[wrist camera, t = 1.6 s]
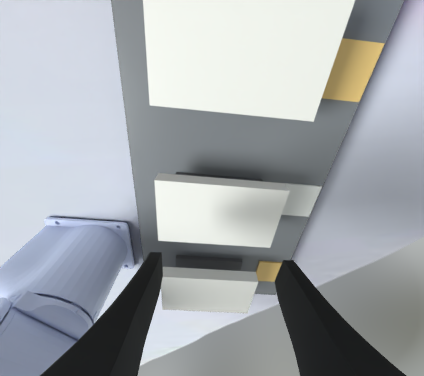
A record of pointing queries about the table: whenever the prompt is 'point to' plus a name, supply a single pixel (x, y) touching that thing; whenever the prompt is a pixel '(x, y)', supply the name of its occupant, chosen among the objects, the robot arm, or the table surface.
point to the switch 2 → (218, 210)
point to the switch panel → (243, 141)
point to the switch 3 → (207, 290)
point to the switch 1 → (243, 54)
